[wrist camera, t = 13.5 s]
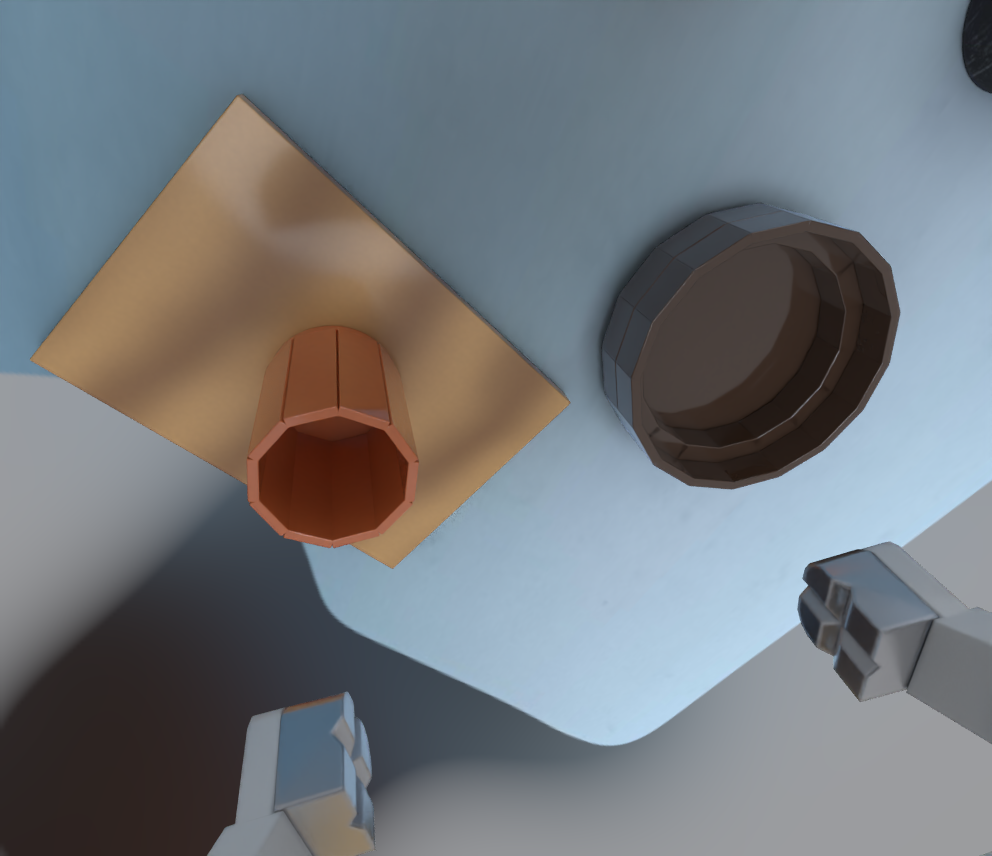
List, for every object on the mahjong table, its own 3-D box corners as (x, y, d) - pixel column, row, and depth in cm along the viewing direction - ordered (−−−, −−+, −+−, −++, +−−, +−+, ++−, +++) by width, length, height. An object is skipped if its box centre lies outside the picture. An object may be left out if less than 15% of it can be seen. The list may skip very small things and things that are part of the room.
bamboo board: (40, 348, 27) (28, 360, 26) (241, 92, 24) (237, 94, 23) (390, 555, 37) (392, 569, 36) (564, 392, 34) (571, 403, 33)
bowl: (590, 234, 30) (627, 260, 26) (854, 177, 31) (926, 194, 28) (605, 469, 37) (636, 516, 34) (818, 414, 39) (871, 452, 35)
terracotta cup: (244, 342, 28) (216, 434, 21) (384, 311, 28) (400, 390, 22) (288, 453, 31) (276, 563, 24) (412, 422, 32) (435, 522, 25)
